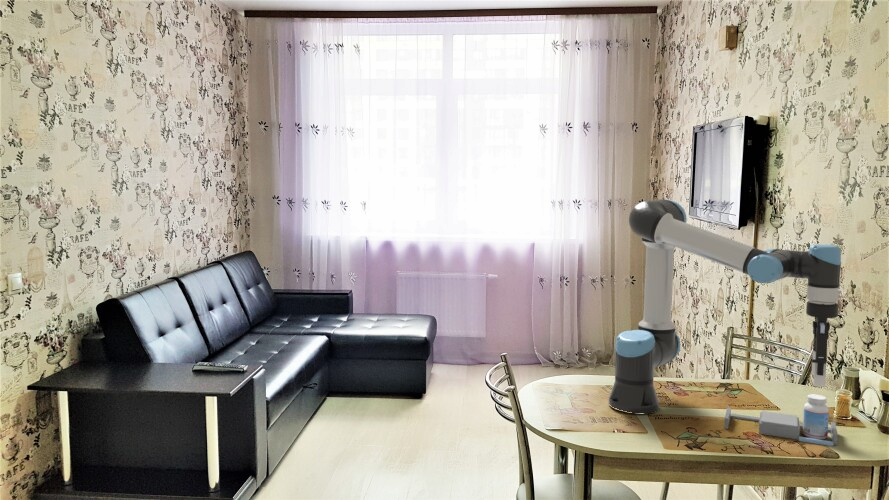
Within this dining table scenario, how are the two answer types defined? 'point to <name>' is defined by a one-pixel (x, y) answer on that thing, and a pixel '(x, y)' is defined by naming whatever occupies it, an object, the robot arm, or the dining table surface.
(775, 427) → the grey block with rods
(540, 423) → the dining table surface
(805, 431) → the pill bottle
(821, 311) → the robot arm
